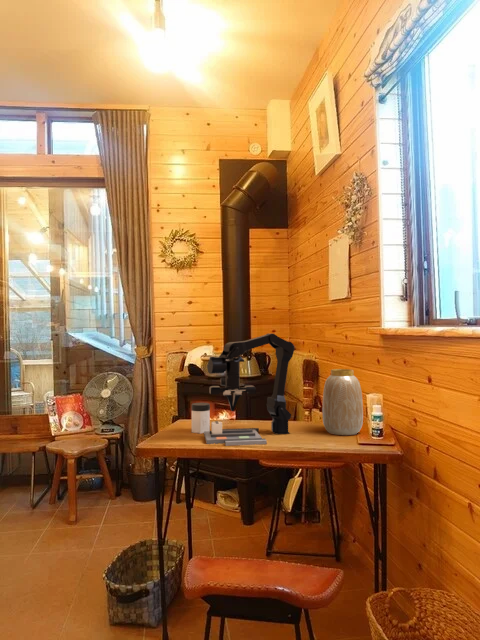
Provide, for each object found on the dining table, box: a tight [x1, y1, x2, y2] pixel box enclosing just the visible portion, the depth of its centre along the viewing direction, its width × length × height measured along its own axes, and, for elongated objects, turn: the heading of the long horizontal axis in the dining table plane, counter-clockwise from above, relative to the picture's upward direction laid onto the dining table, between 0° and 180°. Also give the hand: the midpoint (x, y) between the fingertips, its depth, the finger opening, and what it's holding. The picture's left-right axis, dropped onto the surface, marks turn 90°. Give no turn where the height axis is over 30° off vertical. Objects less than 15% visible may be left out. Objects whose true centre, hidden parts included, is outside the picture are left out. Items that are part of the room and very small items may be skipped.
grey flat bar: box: [224, 438, 268, 447], centre depth 175 cm, size 16×3×1 cm, turn 98°
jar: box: [191, 402, 211, 434], centre depth 198 cm, size 9×8×12 cm
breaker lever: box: [211, 420, 223, 434], centre depth 184 cm, size 4×4×5 cm
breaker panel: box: [203, 429, 263, 445], centre depth 185 cm, size 22×16×2 cm
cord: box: [222, 427, 260, 433], centre depth 196 cm, size 18×1×1 cm, turn 98°
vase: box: [321, 368, 364, 436], centre depth 196 cm, size 17×17×27 cm
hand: (232, 411), depth 185 cm, fingers closed
